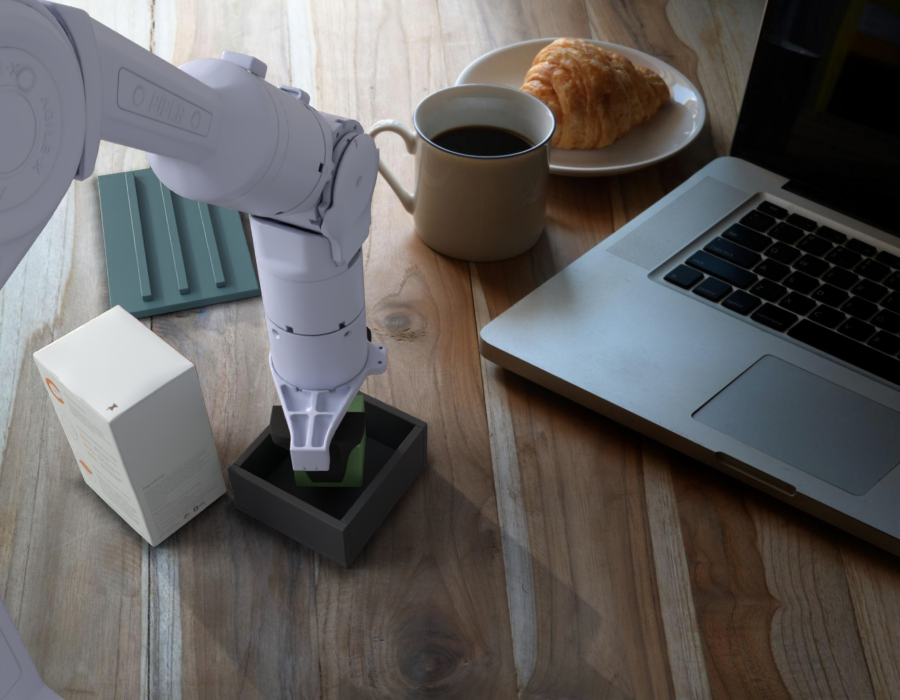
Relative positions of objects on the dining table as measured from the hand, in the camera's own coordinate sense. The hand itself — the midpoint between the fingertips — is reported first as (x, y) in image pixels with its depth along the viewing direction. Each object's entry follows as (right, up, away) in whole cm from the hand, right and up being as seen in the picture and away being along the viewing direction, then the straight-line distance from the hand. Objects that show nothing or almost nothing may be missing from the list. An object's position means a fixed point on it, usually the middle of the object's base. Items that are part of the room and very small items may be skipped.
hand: (330, 448), depth 63 cm
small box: (-12, -3, +3) cm, 13 cm away
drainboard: (-17, +17, +21) cm, 32 cm away
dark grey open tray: (0, -3, +3) cm, 4 cm away
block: (0, -1, +1) cm, 1 cm away
